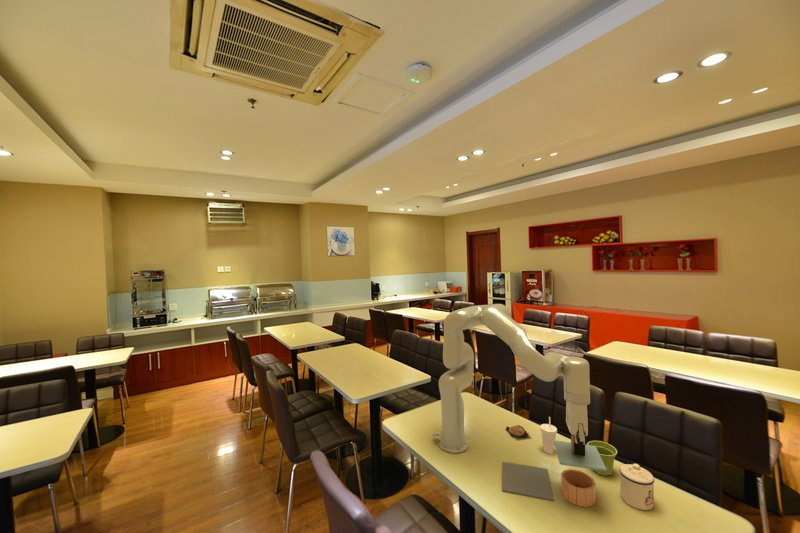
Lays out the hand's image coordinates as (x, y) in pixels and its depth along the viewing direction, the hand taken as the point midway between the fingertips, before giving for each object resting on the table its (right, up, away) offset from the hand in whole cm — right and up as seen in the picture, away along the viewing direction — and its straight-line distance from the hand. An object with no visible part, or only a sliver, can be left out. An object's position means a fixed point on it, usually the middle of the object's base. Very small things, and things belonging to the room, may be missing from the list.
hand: (578, 450), depth 106 cm
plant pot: (+16, -15, +12) cm, 25 cm away
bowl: (0, -15, 0) cm, 15 cm away
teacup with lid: (+19, -15, -1) cm, 24 cm away
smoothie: (+2, -15, +25) cm, 29 cm away
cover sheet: (0, -2, 0) cm, 2 cm away
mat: (-14, -15, +8) cm, 22 cm away
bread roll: (-6, -15, +39) cm, 42 cm away
